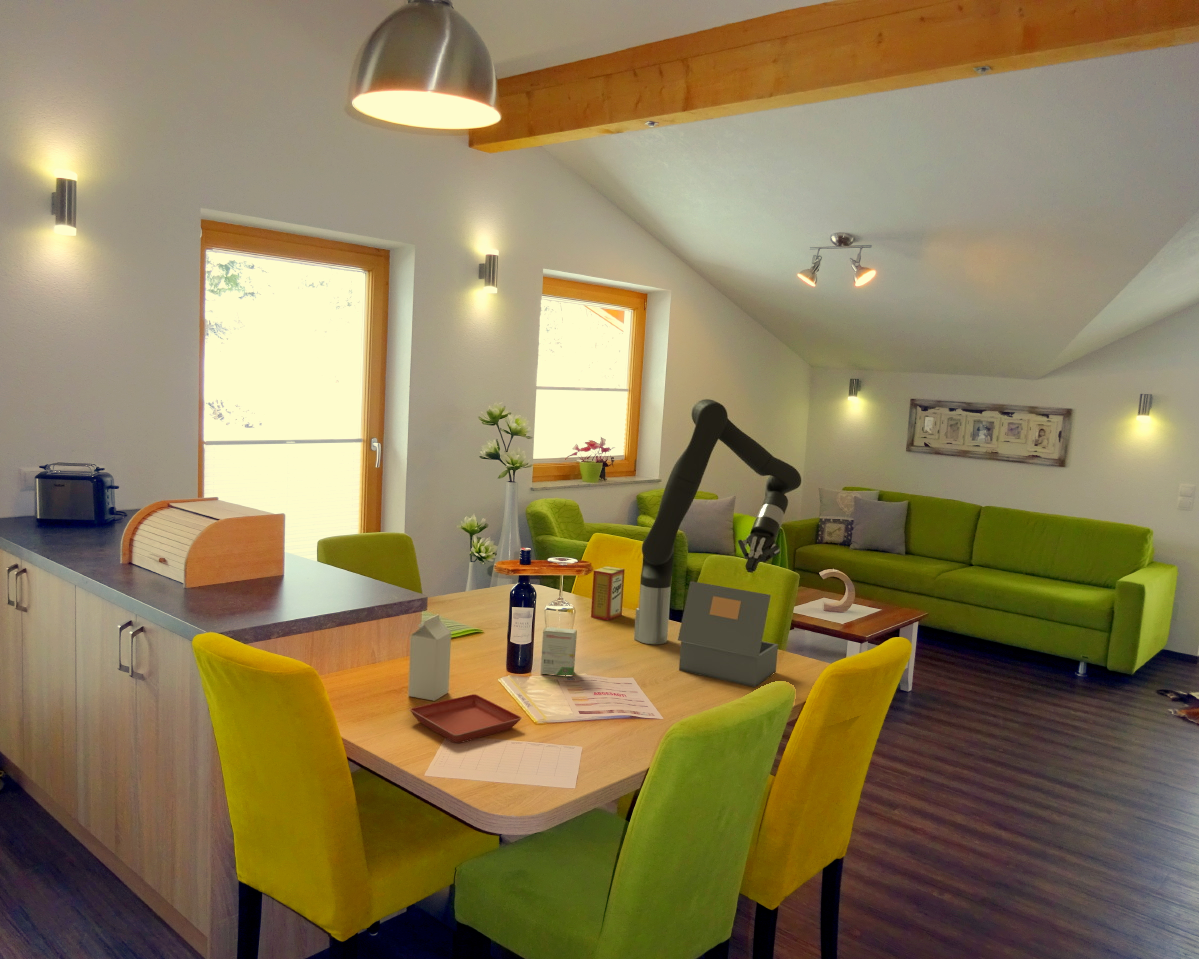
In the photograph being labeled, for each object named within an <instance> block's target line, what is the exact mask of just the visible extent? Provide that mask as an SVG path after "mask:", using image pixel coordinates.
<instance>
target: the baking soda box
mask: <svg viewBox="0 0 1199 959" xmlns="http://www.w3.org/2000/svg"><path fill="white" fill-rule="evenodd" d="M592 579H593V580H592V590H591V591H592V595H591V607H590V608H591V611H590V613H591V614H590V618H593V619H596V620H597V619H598V620H603V621H611V620H614V619H616V618H619V617H621V616H622V614H623V603H624V602H623V601H624V600H623V599H624V586H625V585H624V584H625V582H624V581H625V568H621V567H620V568H619V567H613V566H608V565H607V566H604V567H601V568H598V569H594V570H593V578H592Z"/></svg>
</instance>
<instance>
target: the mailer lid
mask: <svg viewBox="0 0 1199 959" xmlns="http://www.w3.org/2000/svg"><path fill="white" fill-rule="evenodd" d="M685 599H686V600H685V604H684V605H685V606H684V609H683V614H682V619H681V623H680V629H679V633H678V636H677V641H680V642H681V641H683V642H688V643H693V644H697V645H702V646H707V647H712V648H716V649H721V650H726V651H731V652H735V653H740V654H745V655H750V656H755V657H759V653H760V648H761V643H762V641H763V637H764V632H765V627H766V623H767V622H766V621H767V616H768V611H769V607H770V603H771V594H766V593H762V592H758V591H757V592H755V591H750V590H743V589H738V588H733V587H727V586H722V585H715V584H710V583H703V582H699V581H698V582H697V581H693V580H691V581H690V582H689V586H688V590H687V596H686V598H685Z"/></svg>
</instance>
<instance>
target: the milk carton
mask: <svg viewBox="0 0 1199 959" xmlns="http://www.w3.org/2000/svg"><path fill="white" fill-rule="evenodd" d="M417 626H418V627H419V628H418V629H417V630H415V631H414V632H413V633H411V635H410V639H409V640H410V642H409V643H410V645H409V664H408V665H409V668H408V670H409V671H408V672H409V673H408V692H407V695H408V697H411V698H412V697H413V698H417V699H421V700H423V699H424V700H427V701H433V702H435V701H437V700H439V699H441V697H444V696H445V695H447V694H448V693H449V690H450V671H451V670H450V668H451V667H450V666H451V646H452V632H451V630H450V629H449V628H448V627H447V626H446V624H445V623H443V621H442V620H441V619H440V614H439V613H438V614H436V615H434V616H431V617H429V618H427V619H425V620H423V621H422V622H420V623H419V624H418V625H417Z"/></svg>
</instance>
